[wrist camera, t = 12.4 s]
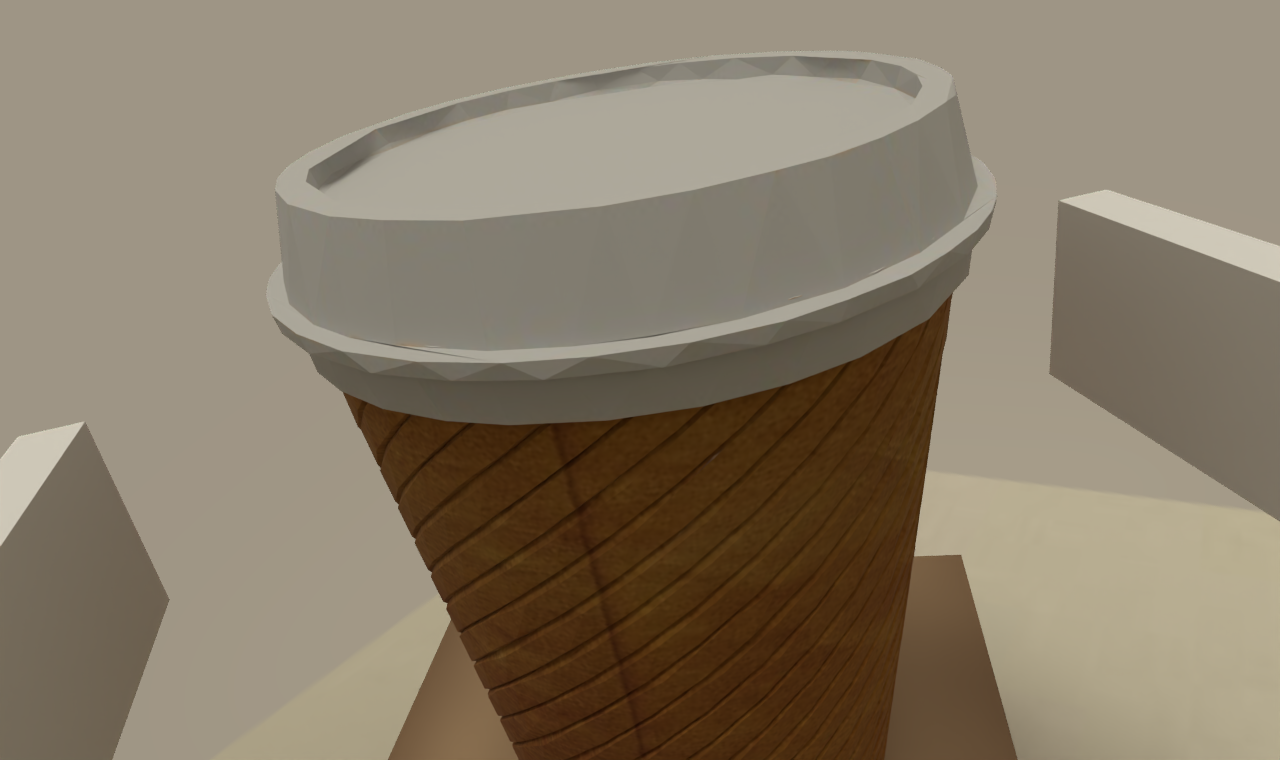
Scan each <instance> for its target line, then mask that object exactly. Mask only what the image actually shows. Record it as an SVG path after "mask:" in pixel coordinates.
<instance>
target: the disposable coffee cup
mask: <svg viewBox="0 0 1280 760" xmlns="http://www.w3.org/2000/svg"><path fill="white" fill-rule="evenodd" d="M275 193H276V204H277V215H278V225H279V236H280V247H281V257H282V262H281V263H280V264H279V265H278V267H277V268H276V270H275V271H274V273H273V274H272V275H271V277H270V278H269V282H268V287H267V292H266V297H267V300H268V304H269V307H270V310H271V314H272V316H273V318H274V320H275V321H276V323H277V325H278V327H279V329H280V330H281V332H282V334H283V335H285V336H286V337H288V338H289V339H290V340H292V341H293V342H295V343H296V344H297V345H298V346H300V347H301V348H302V349H304V350H305V351H306V352H308V353H309V354H310V356H311V358H312V361H313V363H314V365H315V367H316V369H317V372H318V373H319V374H321V375H322V376H323V377H324V378H326V379H327V380H328V381H329V382H331V383H332V384H333V385H334V386H336V387H337V388H338V389H339V390H341V391H342V392H343V393H344V396H345V398H346V400H347V402H348V405H349V407H350V409H351V412H352V414H353V416H354V419H355V421H356V423H357V425H358V427H359V428H360V429H361V430H362V433H363V435H364V437H365V439H366V441H367V443H368V445H369V447H370V449H371V451H372V454H373V455H374V458H375V460H376V462H377V464H378V465H379V466H380V467H381V470H380V471H381V473H382V475H383V477H384V479H385V481H386V483H387V485H388V487H389V489H390V491H391V494H392V495H393V497H394V500H395V501H396V502H397V503H398V504H399V506H398V509H399V511H400V513H401V515H402V517H403V519H404V521H405V523H406V525H407V527H408V529H409V531H410V533H411V535H412V537H414V538H415V539H416V541H415V544H416V546H417V548H418V550H419V552H420V554H421V556H422V558H423V560H424V562H425V564H426V566H427V568H428V570H429V571H431V572H432V575H431V578H432V580H433V582H434V584H435V586H436V588H437V590H438V592H439V594H440V596H441V598H442V600H443V602H446V603H448V604H447V608H446V609H447V611H448V613H449V615H450V617H451V619H452V621H453V623H454V625H455V627H456V629H457V631H458V632H461V635H460V636H459V637H460V639H461V641H462V643H463V645H464V647H465V649H466V651H467V653H468V655H469V657H470V659H471V661H476V662H475V664H474V668H475V670H476V672H477V674H478V676H479V678H480V680H481V682H482V684H483V686H484V688H485V689H489V691H488V697H489V699H490V701H491V703H492V705H493V707H494V709H495V711H496V713H497V715H498V716H502V717H501V718H500V722H501V724H502V726H503V728H504V730H505V732H506V734H507V736H508V738H509V740H510V742H513V744H512V747H513V749H514V751H515V753H516V755H517V757H518V759H519V760H884V758H885V751H886V744H887V737H888V730H889V723H890V715H891V708H892V702H893V695H894V687H895V681H896V674H897V667H898V660H899V653H900V646H901V640H902V634H903V628H904V621H905V614H906V607H907V600H908V593H909V586H910V579H911V571H912V564H913V558H914V551H915V542H916V536H917V529H918V522H919V514H920V507H921V502H922V495H923V488H924V481H925V474H926V467H927V459H928V453H929V446H930V439H931V430H932V425H933V417H934V410H935V403H936V396H937V389H938V383H939V375H940V367H941V361H942V354H943V350H944V346H945V341H946V337H947V329H948V321H949V312H950V305H951V299H952V294H953V292H954V290H955V289H956V288H957V287H958V286H959V285H960V284H961V283H962V282H963V280H964V279H965V278H966V277H967V276H968V275H969V268H970V260H971V253H972V249H973V248H974V247H975V245H976V244H977V243H978V242H979V241H980V239H981V238H982V237H983V236H984V234H985V233H986V232H987V231H988V230H989V227H990V223H991V219H992V215H993V212H994V208H995V204H996V198H997V192H996V179H995V178H994V176H993V175H992V174H991V172H990V171H989V170H988V168H987V167H986V166H985V165H984V163H983V162H982V161H980V160H979V159H977V158H975V157H974V156H972V155H971V154H970V150H969V145H968V141H967V136H966V132H965V128H964V123H963V119H962V115H961V110H960V105H959V101H958V97H957V92H956V88H955V83H954V79H953V76H951V75H950V74H949V73H948V72H946V71H945V70H944V69H943V68H941V67H939V66H936V65H934V64H931V63H928V62H926V61H923V60H921V59H915V58H908V57H900V56H893V55H885V54H877V53H866V52H855V51H793V52H792V51H788V52H761V53H745V54H729V55H714V56H705V57H697V58H687V59H678V60H670V61H661V62H652V63H645V64H638V65H632V66H625V67H619V68H613V69H606V70H599V71H593V72H587V73H580V74H574V75H569V76H563V77H558V78H554V79H549V80H543V81H539V82H533V83H527V84H523V85H517V86H512V87H507V88H503V89H498V90H494V91H490V92H486V93H482V94H477V95H473V96H469V97H465V98H461V99H457V100H452V101H449V102H445V103H441V104H438V105H435V106H431V107H427V108H424V109H420V110H417V111H413V112H410V113H406V114H403V115H401V116H398V117H395V118H392V119H389V120H387V121H384V122H381V123H378V124H376V125H373V126H370V127H367V128H364V129H361V130H358V131H356V132H353V133H350V134H347V135H344V136H342V137H340V138H338V139H335V140H333V141H331V142H329V143H327V144H325V145H323V146H321V147H319V148H317V149H315V150H312V151H310V152H309V153H307V154H306V155H304V156H303V157H301V158H300V159H298V160H297V161H295V162H294V163H292V164H291V165H289V166H288V167H287V168H286V169H285V170H284V171H283V173H282V174H281V175H280V176H279V177H278V178H277V182H276V189H275Z"/></svg>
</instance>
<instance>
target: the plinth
mask: <svg viewBox="0 0 1280 760" xmlns="http://www.w3.org/2000/svg"><path fill="white" fill-rule="evenodd" d="M460 635H461V632H458V631H457V629H456V627H455V625H454V623H453V621H452V619H451V621H450V623H449V626H448V628H447V630H446V632H445V635H444V637H443V639H442V641H441V643H440V646H439V648H438V650H437V652H436V654H435V657H434V659H433V661H432V663H431V666H430V668H429V670H428V672H427V674H426V677H425V679H424V681H423V683H422V685H421V688H420V690H419V692H418V694H417V697H416V699H415V701H414V703H413V705H412V708H411V710H410V712H409V714H408V717H407V719H406V721H405V723H404V725H403V728H402V730H401V732H400V734H399V736H398V739H397V741H396V743H395V745H394V748H393V750H392V752H391V754H390V756H389V759H388V760H519V759H518V757H517V755H516V753H515V751H514V749H513V747H512V744H513V742H510V740H509V738H508V736H507V734H506V732H505V730H504V728H503V726H502V724H501V722H500V718H501V717H502V716H498V715H497V713H496V711H495V709H494V707H493V705H492V703H491V701H490V699H489V697H488V691H489V689H485V688H484V686H483V684H482V682H481V680H480V678H479V676H478V674H477V672H476V670H475V668H474V664H475V662H476V661H471V659H470V657H469V655H468V653H467V651H466V649H465V647H464V645H463V643H462V641H461V639H460V637H459V636H460ZM884 760H1017V756H1016V753H1015V749H1014V745H1013V742H1012V738H1011V734H1010V731H1009V727H1008V724H1007V720H1006V716H1005V713H1004V709H1003V705H1002V702H1001V698H1000V695H999V691H998V687H997V684H996V680H995V676H994V673H993V669H992V666H991V662H990V658H989V655H988V651H987V647H986V644H985V640H984V637H983V633H982V629H981V626H980V622H979V618H978V615H977V611H976V608H975V604H974V600H973V597H972V593H971V589H970V586H969V582H968V579H967V575H966V571H965V568H964V564H963V560H962V557H961V555H945V556H916V557H914V558H913V564H912V571H911V579H910V586H909V593H908V600H907V607H906V614H905V621H904V628H903V634H902V640H901V646H900V653H899V660H898V667H897V674H896V681H895V687H894V695H893V702H892V708H891V715H890V723H889V730H888V737H887V744H886V751H885V758H884Z"/></svg>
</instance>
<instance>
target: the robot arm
mask: <svg viewBox="0 0 1280 760" xmlns="http://www.w3.org/2000/svg"><path fill="white" fill-rule="evenodd" d="M1058 204H1059V205H1058V222H1057V241H1056V259H1055V278H1054V279H1055V280H1054V298H1053V318H1052V336H1051V354H1050V355H1051V356H1050V374H1051V375H1052V376H1054V377H1055V378H1057V379H1058V380H1060V381H1061V382H1063V383H1065V384H1066V385H1068V386H1069V387H1071V388H1072V389H1074V390H1075V391H1077V392H1079V393H1080V394H1082V395H1083V396H1085V397H1087V398H1088V399H1090V400H1091V401H1093V402H1094V403H1096V404H1097V405H1099V406H1100V407H1102V408H1104V409H1105V410H1107V411H1108V412H1110V413H1111V414H1113V415H1115V416H1116V417H1118V418H1119V419H1121V420H1123V421H1124V422H1125V423H1127V424H1129V425H1130V426H1132V427H1133V428H1135V429H1136V430H1138V431H1140V432H1141V433H1143V434H1144V435H1146V436H1147V437H1149V438H1151V439H1152V440H1154V441H1155V442H1157V443H1158V444H1160V445H1161V446H1163V447H1164V448H1166V449H1168V450H1169V451H1171V452H1172V453H1174V454H1175V455H1177V456H1179V457H1180V458H1182V459H1183V460H1185V461H1186V462H1188V463H1190V464H1191V465H1193V466H1195V467H1196V468H1197V469H1199V470H1200V471H1202V472H1204V473H1205V474H1207V475H1208V476H1210V477H1211V478H1213V479H1215V480H1216V481H1218V482H1219V483H1221V484H1222V485H1224V486H1225V487H1227V488H1228V489H1230V490H1232V491H1233V492H1235V493H1236V494H1238V495H1240V496H1241V497H1243V498H1244V499H1246V500H1247V501H1249V502H1250V503H1252V504H1253V505H1255V506H1257V507H1258V508H1260V509H1261V510H1263V511H1264V512H1266V513H1268V514H1269V515H1271V516H1272V517H1274V518H1275V519H1277V520H1278V521H1280V246H1278V245H1275V244H1271V243H1268V242H1265V241H1262V240H1259V239H1256V238H1253V237H1250V236H1247V235H1244V234H1241V233H1238V232H1235V231H1232V230H1229V229H1225V228H1223V227H1220V226H1216V225H1213V224H1210V223H1207V222H1204V221H1201V220H1198V219H1195V218H1192V217H1189V216H1186V215H1183V214H1180V213H1176V212H1174V211H1171V210H1168V209H1165V208H1162V207H1159V206H1156V205H1152V204H1149V203H1147V202H1143V201H1140V200H1137V199H1134V198H1131V197H1128V196H1125V195H1122V194H1119V193H1116V192H1113V191H1110V190H1102V191H1099V192H1094V193H1089V194H1085V195H1080V196H1076V197H1072V198H1067V199H1063V200H1059V203H1058ZM168 602H169V598H168V596H167V594H166V591H165V589H164V587H163V585H162V583H161V581H160V579H159V577H158V574H157V572H156V570H155V568H154V566H153V564H152V562H151V560H150V558H149V556H148V553H147V551H146V549H145V547H144V545H143V543H142V541H141V539H140V536H139V534H138V532H137V530H136V528H135V526H134V524H133V522H132V520H131V518H130V515H129V513H128V511H127V509H126V507H125V505H124V503H123V501H122V499H121V497H120V494H119V492H118V490H117V488H116V486H115V484H114V482H113V480H112V477H111V475H110V473H109V471H108V469H107V467H106V465H105V463H104V461H103V459H102V456H101V454H100V452H99V450H98V448H97V446H96V444H95V442H94V439H93V438H92V435H91V433H90V431H89V429H88V427H87V425H86V423H85V422H81V423H77V424H72V425H67V426H63V427H59V428H54V429H50V430H45V431H41V432H37V433H32V434H28V435H23V436H19V437H17V439H16V440H15V441H14V443H13V444H12V445H11V446H10V448H9V449H8V450H7V452H5V454H4V455H3V456H2V458H1V459H0V760H112V758H113V755H114V753H115V750H116V747H117V744H118V742H119V739H120V736H121V733H122V730H123V727H124V725H125V722H126V719H127V717H128V714H129V711H130V708H131V705H132V703H133V699H134V697H135V694H136V691H137V689H138V686H139V683H140V680H141V677H142V675H143V672H144V669H145V666H146V663H147V661H148V658H149V655H150V652H151V650H152V647H153V644H154V641H155V638H156V636H157V633H158V630H159V627H160V624H161V622H162V619H163V616H164V613H165V610H166V608H167V605H168Z"/></svg>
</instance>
